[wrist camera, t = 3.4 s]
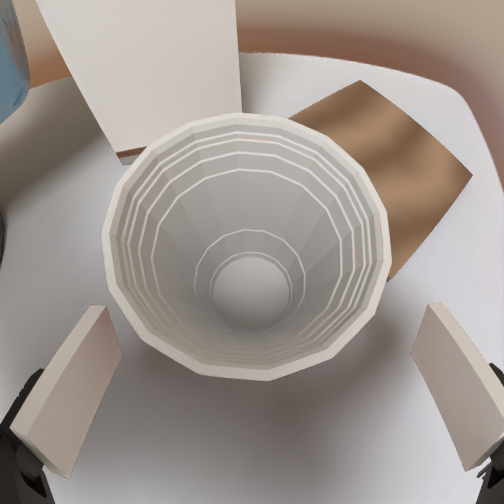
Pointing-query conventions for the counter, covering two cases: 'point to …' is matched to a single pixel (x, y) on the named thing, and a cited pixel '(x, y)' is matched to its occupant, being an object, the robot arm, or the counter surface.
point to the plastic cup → (246, 246)
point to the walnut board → (392, 162)
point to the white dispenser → (148, 63)
